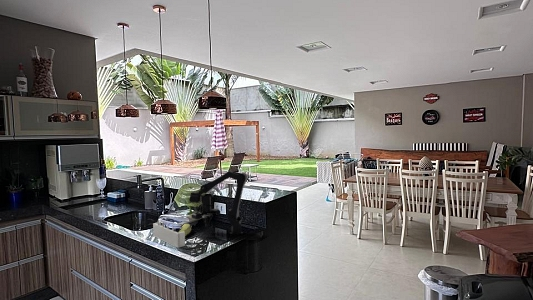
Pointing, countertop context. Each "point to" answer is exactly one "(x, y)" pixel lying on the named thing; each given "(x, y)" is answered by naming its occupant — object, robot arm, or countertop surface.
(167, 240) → the rack
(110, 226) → the countertop surface
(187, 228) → the banana
